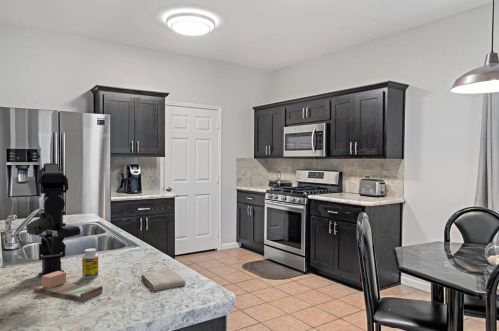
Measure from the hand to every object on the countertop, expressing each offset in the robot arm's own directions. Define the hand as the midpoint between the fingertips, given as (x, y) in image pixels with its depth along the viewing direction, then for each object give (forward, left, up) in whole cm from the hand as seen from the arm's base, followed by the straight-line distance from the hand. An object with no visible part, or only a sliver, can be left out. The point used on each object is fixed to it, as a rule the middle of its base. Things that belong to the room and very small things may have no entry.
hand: (53, 254), depth 123 cm
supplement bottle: (+1, +15, -12) cm, 19 cm away
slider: (0, 0, -10) cm, 10 cm away
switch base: (+7, 0, -12) cm, 14 cm away
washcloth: (+29, +21, -12) cm, 38 cm away
